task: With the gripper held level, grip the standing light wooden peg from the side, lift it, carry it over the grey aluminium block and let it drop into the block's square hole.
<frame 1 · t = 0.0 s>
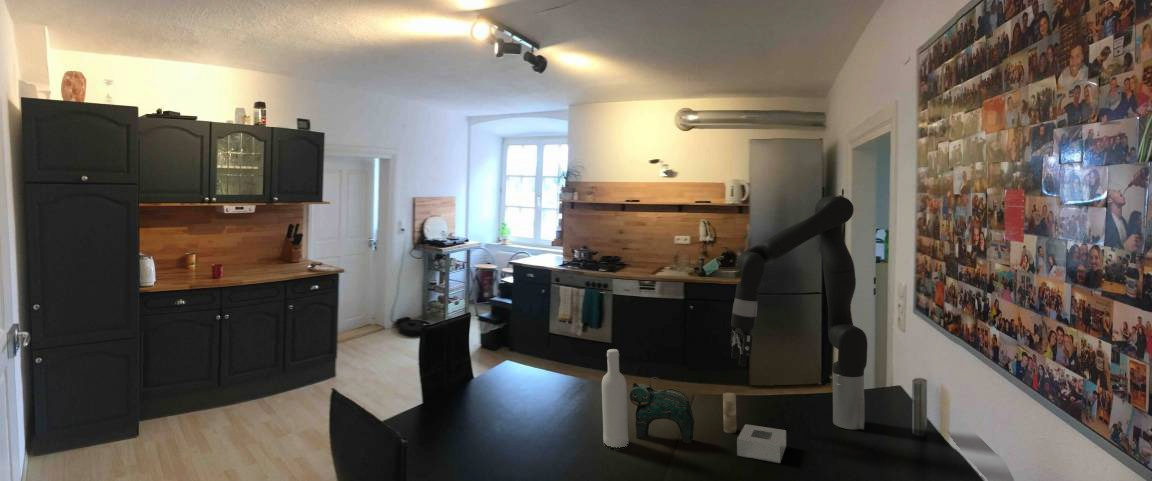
hand: (738, 362, 182), 22 cm above the table, tool pointing down, fingers open, 8 cm apart
socket block: (762, 450, 167), on the table
wooden peg: (730, 430, 183), on the table
ceramic cat: (663, 438, 179), on the table
bottle: (616, 444, 176), on the table
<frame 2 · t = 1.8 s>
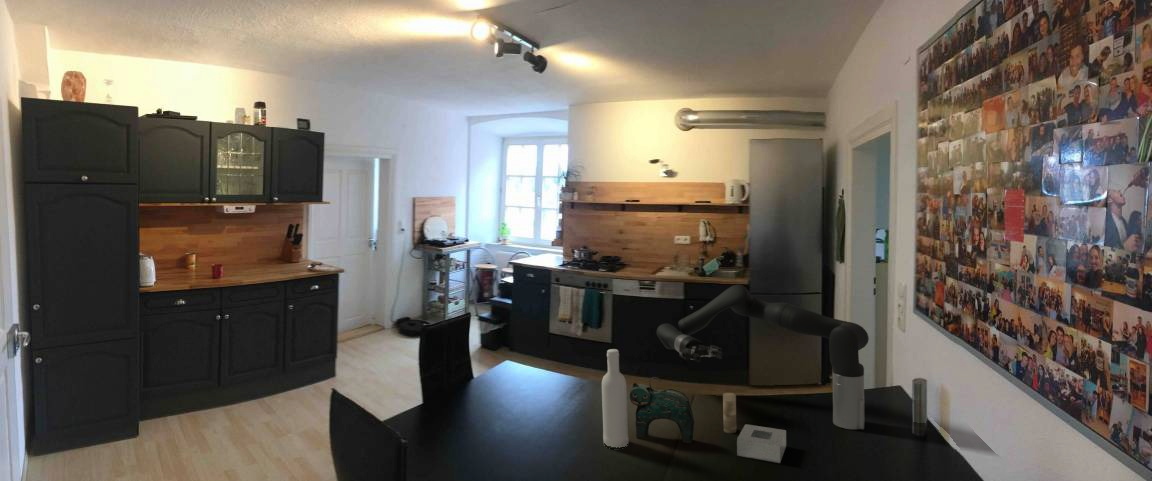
hand: (710, 357, 192), 21 cm above the table, tool horizontal, fingers open, 8 cm apart
nothing on the table moved.
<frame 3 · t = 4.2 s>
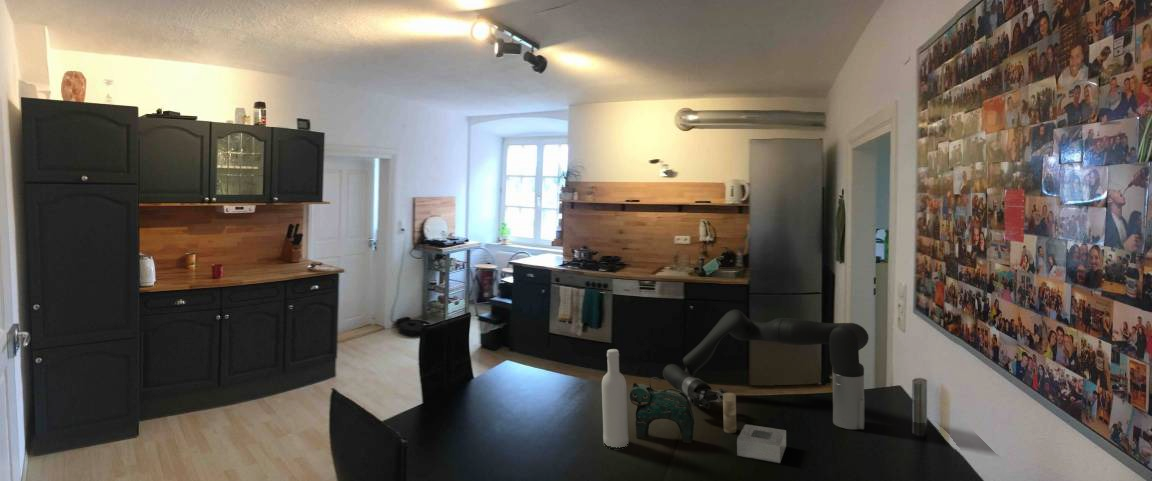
hand: (720, 404, 188), 7 cm above the table, tool horizontal, fingers open, 8 cm apart
nothing on the table moved.
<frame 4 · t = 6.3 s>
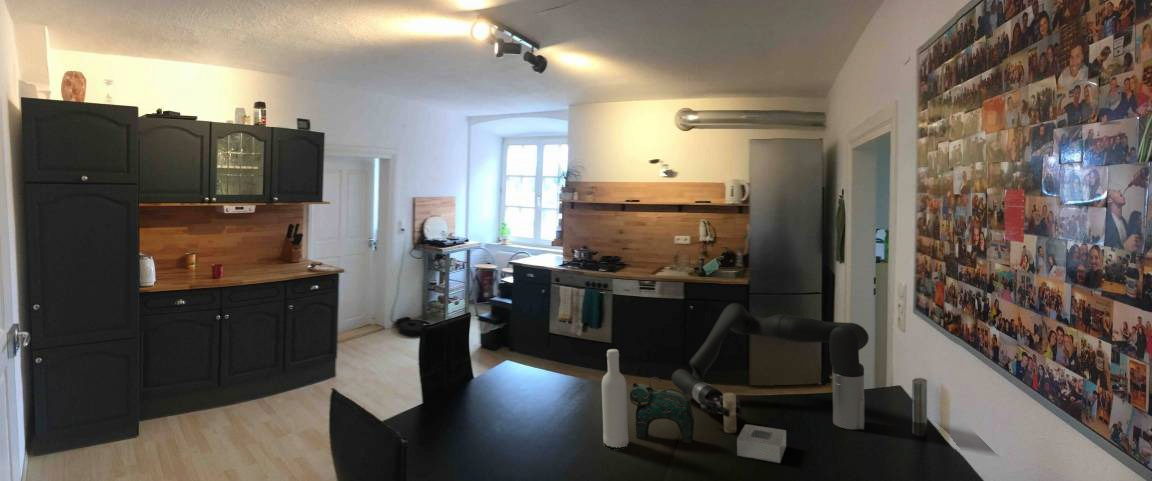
hand: (734, 412, 180), 7 cm above the table, tool horizontal, fingers closed on wooden peg, 4 cm apart
wooden peg: (730, 430, 183), on the table, touching gripper
everything else where it was.
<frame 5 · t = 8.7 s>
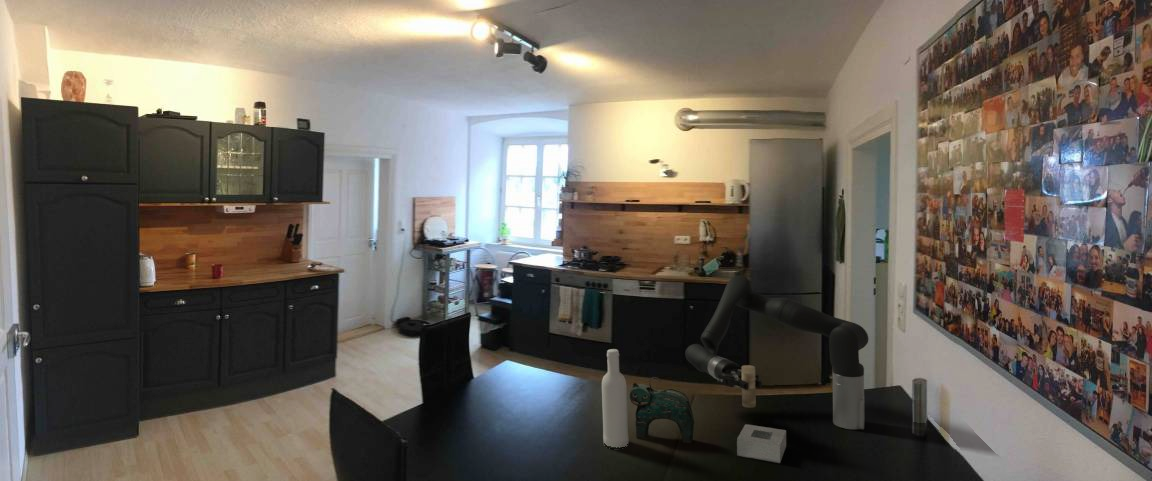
hand: (753, 385, 169), 19 cm above the table, tool horizontal, fingers closed on wooden peg, 4 cm apart
wooden peg: (749, 405, 172), point 12 cm above the table, touching gripper
everything else where it was.
when the fingers open (13 cm above the table, at t = 11.0 s): wooden peg drops 6 cm, resting in socket block.
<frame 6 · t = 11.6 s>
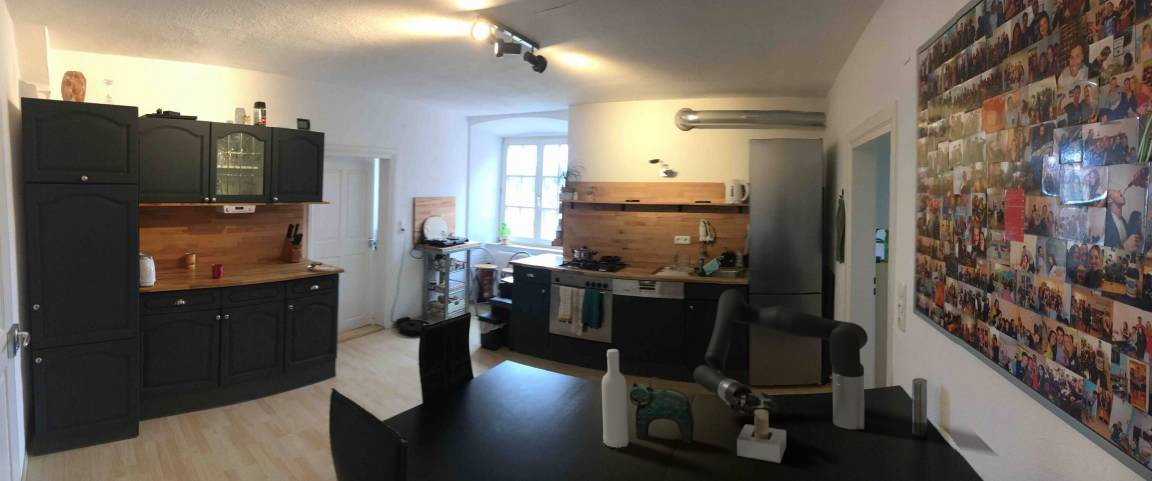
hand: (765, 410, 165), 13 cm above the table, tool horizontal, fingers open, 8 cm apart
wooden peg: (761, 450, 167), resting in socket block
everything else where it was.
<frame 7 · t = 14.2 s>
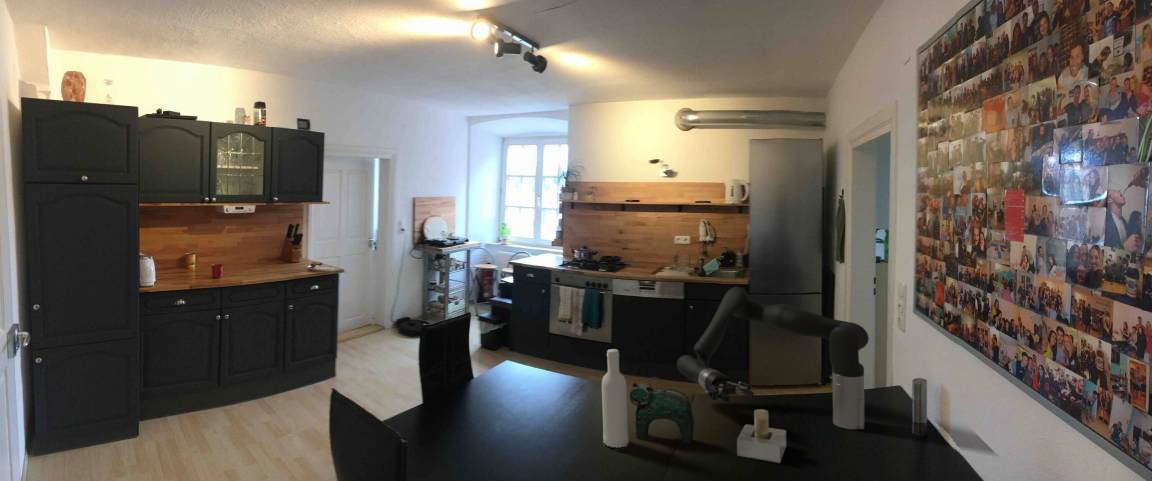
hand: (740, 397, 177), 13 cm above the table, tool horizontal, fingers open, 8 cm apart
nothing on the table moved.
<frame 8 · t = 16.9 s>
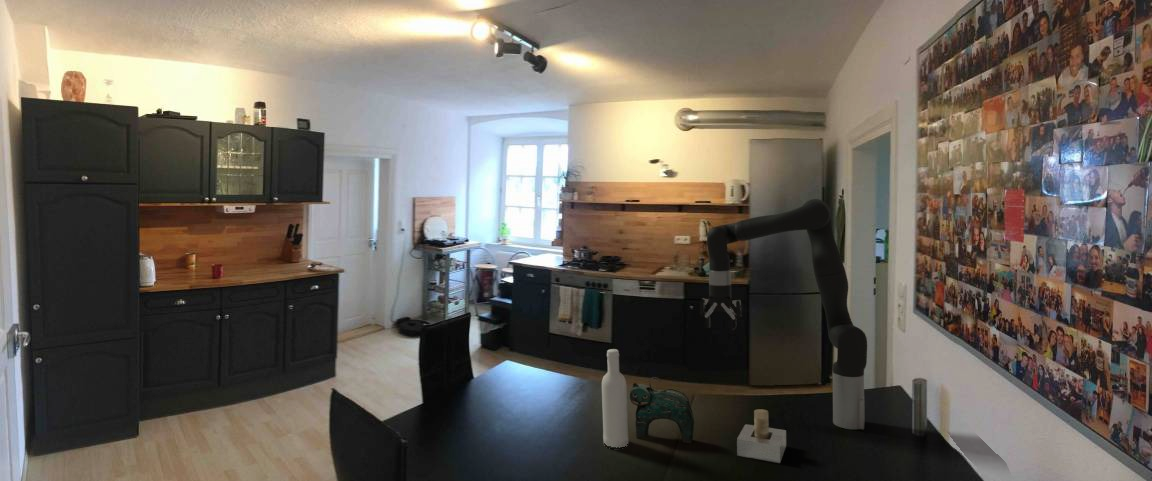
hand: (721, 328, 197), 30 cm above the table, tool pointing down, fingers open, 8 cm apart
nothing on the table moved.
at the end: wooden peg 0.1 cm off-centre on the socket block, point 0.0 cm above the socket block's base; wooden peg tilted 0°; the gripper is holding nothing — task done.
